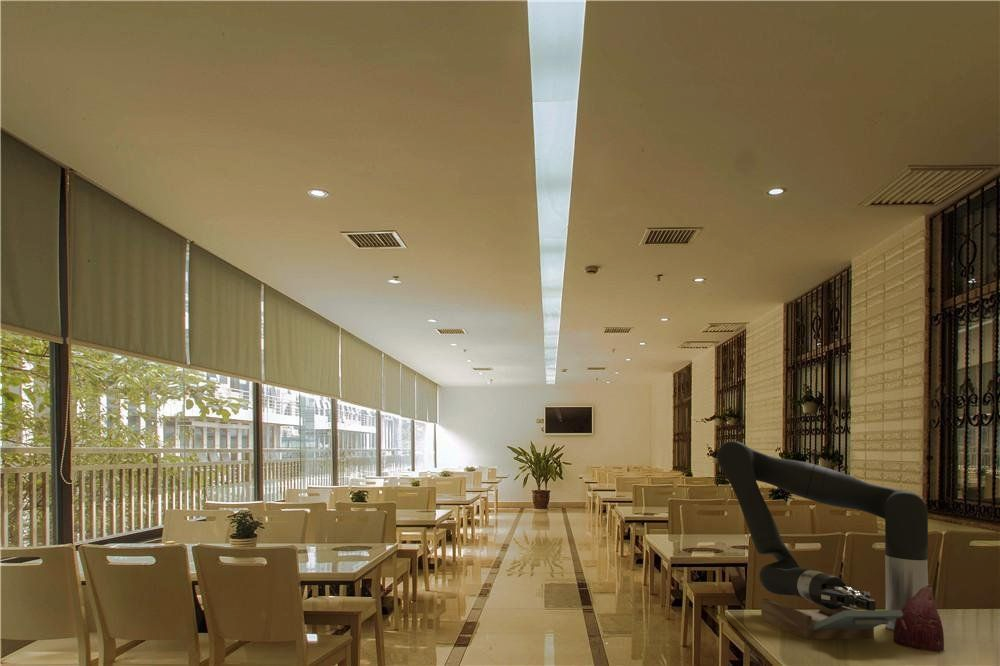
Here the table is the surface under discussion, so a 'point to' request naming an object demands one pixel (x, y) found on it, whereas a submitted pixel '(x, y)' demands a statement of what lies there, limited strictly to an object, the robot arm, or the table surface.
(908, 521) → the robot arm
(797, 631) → the brown wooden tray
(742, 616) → the table surface
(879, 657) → the table surface
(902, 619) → the vegetable
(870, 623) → the panel
